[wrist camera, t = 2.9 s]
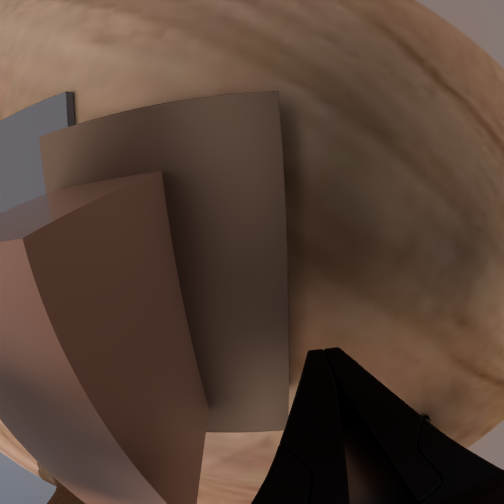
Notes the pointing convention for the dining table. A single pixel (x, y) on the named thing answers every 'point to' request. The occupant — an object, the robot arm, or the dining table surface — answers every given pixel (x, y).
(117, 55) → the dining table surface
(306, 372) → the robot arm
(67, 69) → the dining table surface
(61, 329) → the salmon pink block
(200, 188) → the ledge
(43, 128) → the mat
